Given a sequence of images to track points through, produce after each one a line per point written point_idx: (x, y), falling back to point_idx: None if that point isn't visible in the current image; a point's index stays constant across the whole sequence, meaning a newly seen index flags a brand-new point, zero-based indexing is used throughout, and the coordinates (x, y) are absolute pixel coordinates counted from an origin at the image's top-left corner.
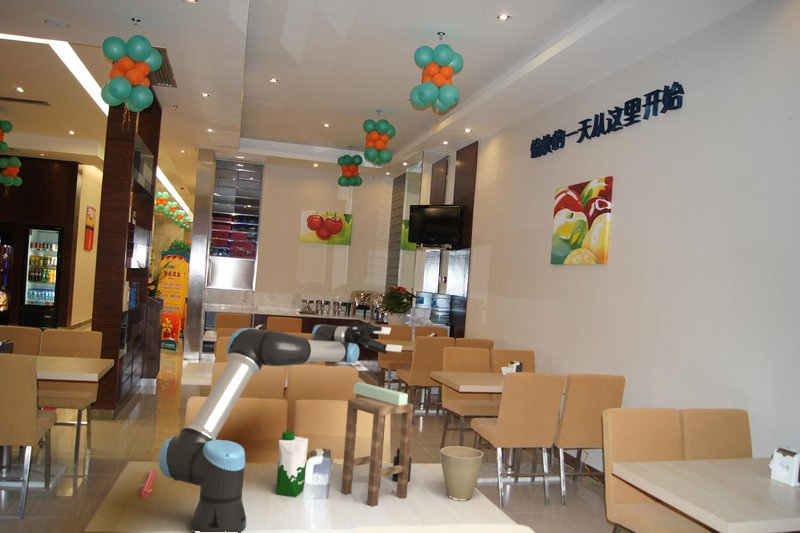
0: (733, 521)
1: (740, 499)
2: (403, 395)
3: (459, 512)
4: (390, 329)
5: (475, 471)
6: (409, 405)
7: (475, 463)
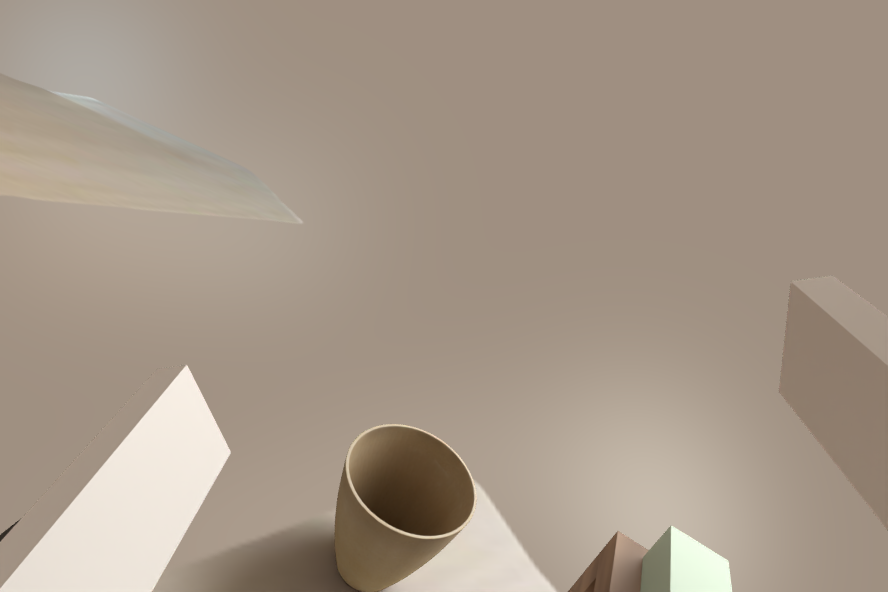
0: (294, 218)
1: (187, 169)
2: (697, 547)
3: (470, 561)
4: (805, 304)
5: (425, 471)
6: (639, 548)
7: (439, 457)
